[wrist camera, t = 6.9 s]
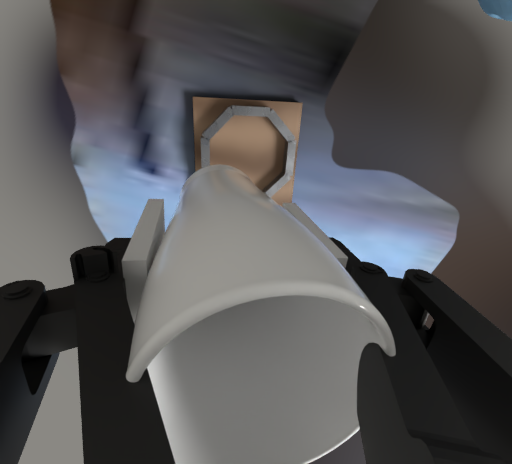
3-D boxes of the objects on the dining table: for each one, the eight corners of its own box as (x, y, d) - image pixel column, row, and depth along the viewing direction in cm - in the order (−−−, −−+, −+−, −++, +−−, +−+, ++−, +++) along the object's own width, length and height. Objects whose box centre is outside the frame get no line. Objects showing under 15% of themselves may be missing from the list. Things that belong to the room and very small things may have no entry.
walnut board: (192, 96, 34) (192, 96, 32) (299, 102, 36) (302, 102, 35) (199, 281, 45) (199, 286, 44) (280, 277, 47) (282, 281, 46)
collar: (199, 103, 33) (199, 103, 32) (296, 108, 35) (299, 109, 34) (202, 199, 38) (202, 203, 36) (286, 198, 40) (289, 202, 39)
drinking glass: (235, 257, 22) (299, 497, 9) (150, 219, 20) (62, 472, 6) (284, 183, 20) (454, 341, 7) (198, 130, 18) (215, 221, 5)
